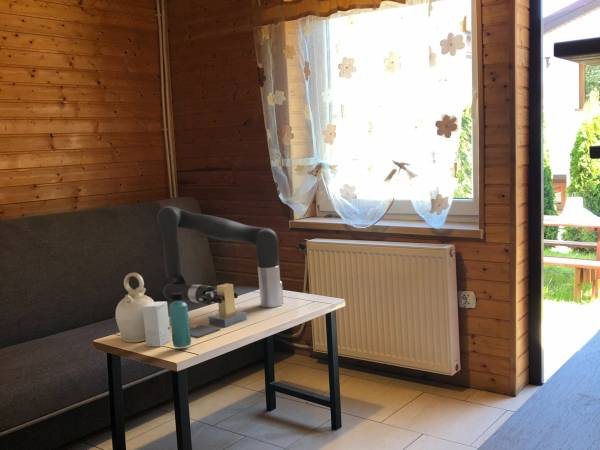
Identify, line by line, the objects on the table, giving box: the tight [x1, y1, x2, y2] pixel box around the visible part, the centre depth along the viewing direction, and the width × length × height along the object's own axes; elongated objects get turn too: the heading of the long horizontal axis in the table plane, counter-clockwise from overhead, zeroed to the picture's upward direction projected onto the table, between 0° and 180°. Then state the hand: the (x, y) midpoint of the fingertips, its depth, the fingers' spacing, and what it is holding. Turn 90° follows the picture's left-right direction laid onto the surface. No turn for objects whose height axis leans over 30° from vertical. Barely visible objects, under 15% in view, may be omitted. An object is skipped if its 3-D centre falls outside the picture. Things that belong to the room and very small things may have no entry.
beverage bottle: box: [168, 292, 192, 348], centre depth 225 cm, size 6×7×20 cm
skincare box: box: [142, 301, 172, 348], centre depth 233 cm, size 8×6×15 cm
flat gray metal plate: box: [190, 324, 221, 339], centre depth 245 cm, size 11×11×1 cm
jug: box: [115, 272, 155, 344], centre depth 242 cm, size 15×16×25 cm
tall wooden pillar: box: [216, 283, 236, 317], centre depth 256 cm, size 5×4×12 cm
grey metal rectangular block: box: [208, 310, 248, 328], centre depth 256 cm, size 12×9×3 cm
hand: (229, 297), depth 254 cm, fingers open, 8 cm apart
